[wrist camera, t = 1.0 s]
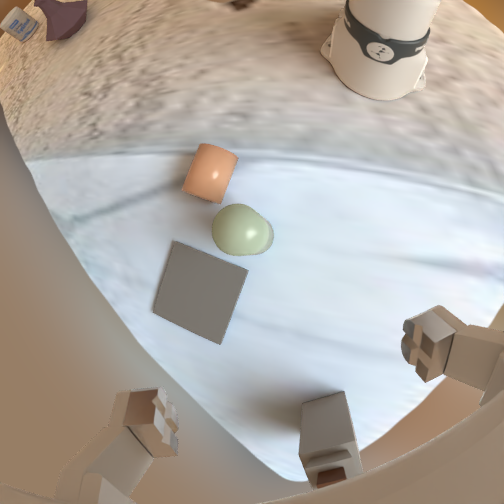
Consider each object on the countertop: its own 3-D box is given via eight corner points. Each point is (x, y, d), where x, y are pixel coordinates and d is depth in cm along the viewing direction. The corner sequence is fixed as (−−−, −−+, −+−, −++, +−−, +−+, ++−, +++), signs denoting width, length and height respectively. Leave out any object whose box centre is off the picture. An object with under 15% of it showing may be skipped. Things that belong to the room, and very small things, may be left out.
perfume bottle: (313, 434, 41) (310, 511, 23) (302, 403, 41) (296, 478, 23) (352, 423, 39) (367, 498, 22) (344, 391, 40) (359, 463, 22)
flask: (87, 2, 52) (52, -30, 32) (104, 12, 50) (64, -26, 30) (49, 40, 54) (10, 13, 34) (61, 55, 52) (15, 24, 32)
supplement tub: (29, 40, 57) (4, 25, 43) (19, 44, 59) (-5, 30, 44) (43, 20, 56) (20, 3, 42) (32, 24, 58) (10, 9, 44)
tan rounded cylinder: (203, 151, 43) (195, 140, 37) (239, 163, 43) (236, 152, 37) (187, 193, 44) (176, 187, 38) (223, 206, 44) (217, 201, 38)
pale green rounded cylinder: (243, 210, 43) (222, 197, 32) (279, 223, 42) (270, 213, 31) (230, 246, 43) (204, 245, 32) (265, 260, 42) (251, 263, 31)
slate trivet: (177, 241, 45) (175, 241, 44) (248, 270, 43) (247, 270, 42) (155, 311, 45) (152, 312, 45) (221, 343, 43) (220, 344, 42)
